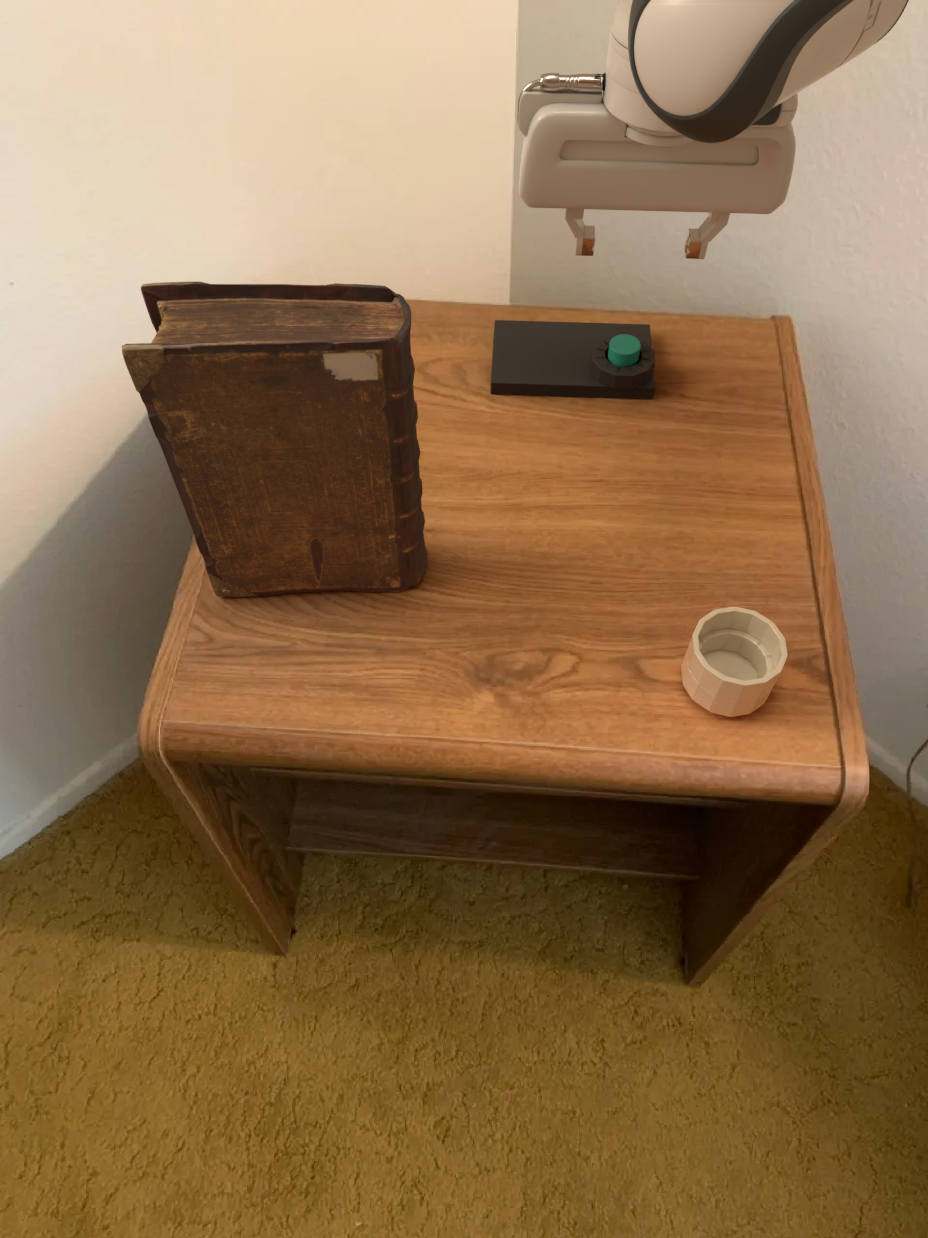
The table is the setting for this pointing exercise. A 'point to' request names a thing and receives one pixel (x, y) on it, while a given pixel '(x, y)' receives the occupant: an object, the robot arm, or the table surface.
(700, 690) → the beige cup
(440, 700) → the table surface
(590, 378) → the scale
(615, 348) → the button
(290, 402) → the book
